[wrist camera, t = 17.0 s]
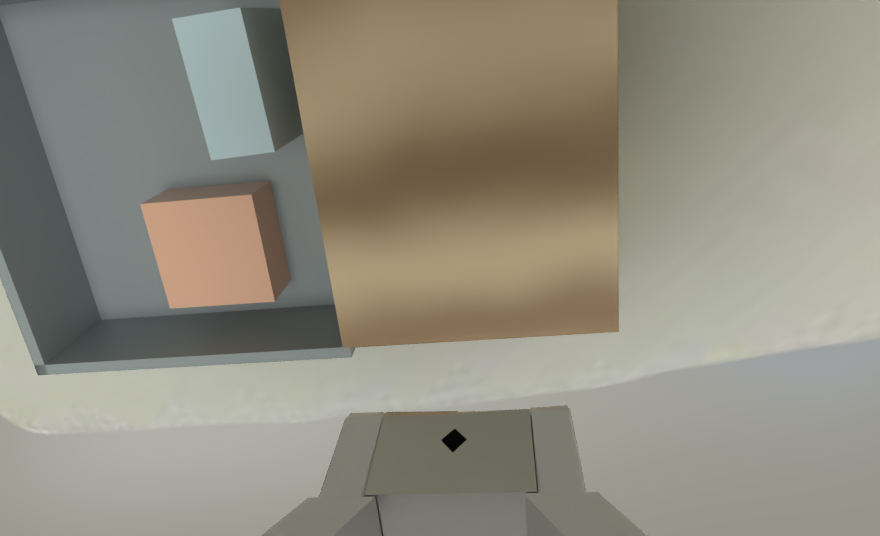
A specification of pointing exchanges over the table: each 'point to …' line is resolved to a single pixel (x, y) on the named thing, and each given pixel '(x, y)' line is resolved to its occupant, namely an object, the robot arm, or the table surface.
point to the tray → (132, 196)
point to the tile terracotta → (218, 244)
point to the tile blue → (240, 80)
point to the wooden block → (462, 164)
